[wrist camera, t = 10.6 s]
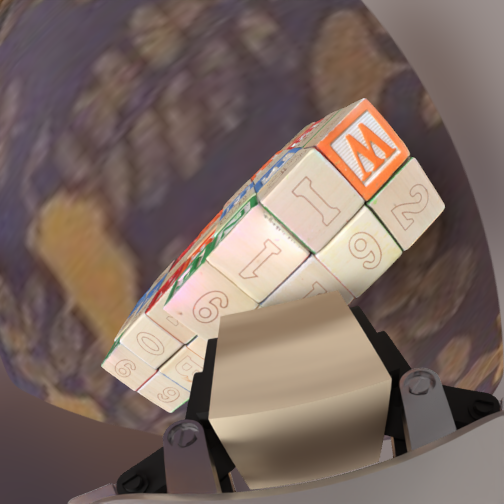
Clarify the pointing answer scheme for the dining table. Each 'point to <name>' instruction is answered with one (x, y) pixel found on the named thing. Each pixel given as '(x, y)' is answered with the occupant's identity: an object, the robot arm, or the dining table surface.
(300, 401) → the tan metal block
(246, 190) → the stack of blocks
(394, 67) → the dining table surface
